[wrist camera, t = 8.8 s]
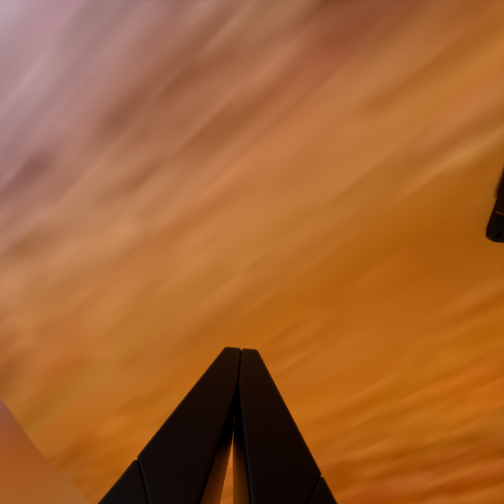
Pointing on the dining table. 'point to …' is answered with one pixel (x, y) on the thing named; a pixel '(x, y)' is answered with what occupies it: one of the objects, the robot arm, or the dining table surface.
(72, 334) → the dining table surface
